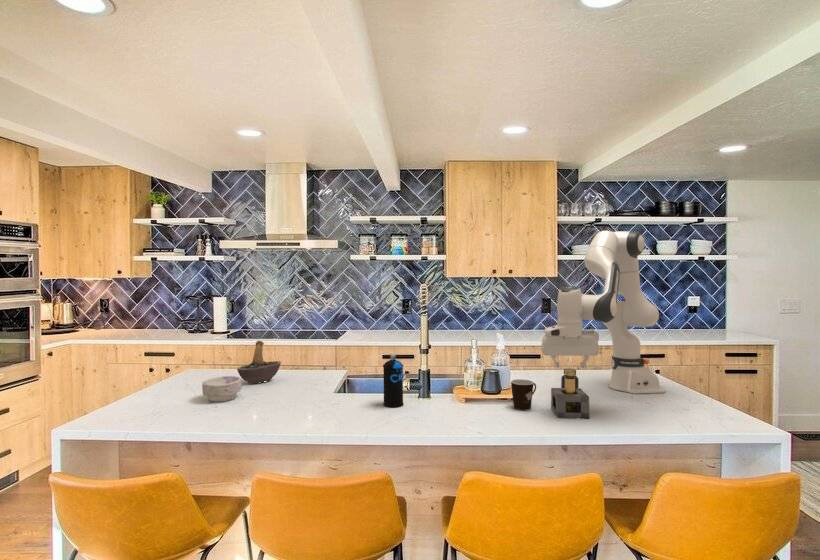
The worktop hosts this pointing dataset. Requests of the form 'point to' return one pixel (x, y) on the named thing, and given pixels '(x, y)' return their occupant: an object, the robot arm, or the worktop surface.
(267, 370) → the mortar and pestle
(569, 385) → the brass tube
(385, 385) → the aerosol can
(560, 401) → the collar stand
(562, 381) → the supplement bottle
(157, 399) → the worktop surface
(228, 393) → the grey stone bowl
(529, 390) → the coffee mug
